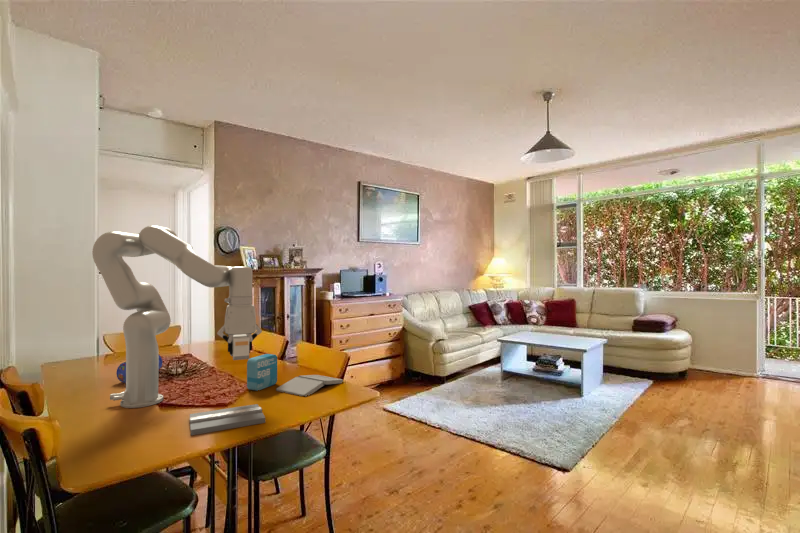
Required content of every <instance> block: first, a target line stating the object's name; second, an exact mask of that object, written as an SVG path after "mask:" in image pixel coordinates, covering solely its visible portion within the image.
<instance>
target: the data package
mask: <svg viewBox="0 0 800 533" xmlns="http://www.w3.org/2000/svg"><path fill="white" fill-rule="evenodd" d="M277 382H278V356H277V355H276V354H272V353H264V354H261V355H257V356H254V357H249V359H247V362H246V388H247V389H248V390H250V391H257V392H259V391H260V390H263V389H266V388H269V387H272V386H274V385H276V384H277ZM258 390H259V391H258Z"/></svg>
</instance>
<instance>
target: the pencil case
mask: <svg viewBox="0 0 800 533" xmlns="http://www.w3.org/2000/svg"><path fill="white" fill-rule="evenodd" d="M162 367H163V358H162V356H161V355H160V354H159V370H160V369H161V368H162ZM115 375H116V378H117V379H118V380H119V381H120V382H121V383H124V384H126V361H124V362H122V363H120V364H119V365H118V367H117V368H116V374H115Z"/></svg>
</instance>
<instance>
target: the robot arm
mask: <svg viewBox="0 0 800 533" xmlns="http://www.w3.org/2000/svg"><path fill="white" fill-rule="evenodd" d="M153 254H156V255H158V256H159V257H161V258H163V259H164V260H165V261H168V262H170V263H172V264H173V265H175V266H176V267H177V269H179V271H181V272H182V273H183V274H184V275H185V276H187V277H189V278H190V279H191V280H194V281H195V282H197V283H199V284H201V285H203V286H205V287H207V288H222V287H228V290H229V291H228V297H227V298H224V303H227V304H228V305H226V310H225V314H224V324H223V325H222V326H221V327H220V328H219V330H218V331H217V332H216V334H217V336H219V337H220V338H222V340H224V341H226V342H227V353H229V354H230V356H231V355H232V354H233V343H232V338H233V335H240V334H246V335H247V336H248V337H249V354H251V351H252V347H253V341H254V340H255V339H256V338H257V337H258V336H259V335H260V334H262V333H263V330H262V329H261V328H260V327H259V325H258V324H257V317H256V315H257V314H256V307H255V305H254V304H253V269H252V267H249V266H228V265H227V266H226V265H218V264H215V265H214V264H212V263H211V262H208V261H207V260H206V259H204V258H202V257H200V256H199V255H198V254H197V253H196V252H194V249H193V246H192V245H191V244H190V243H188V242H186V241H184V240H183V239H181V238H179V237H178V235H177V233H176V232H175V231H174V230H173V229H171V228H169V227H165V226H160V225H155V224H154V225H147V226H145V227H143V228H142V229H141V230H140V231H139V232H138V233H132V232H131V233H130V232H123V231H116V230H115V231H114V230H113V231H108V232H105V233H102V234H101V235H100V236H98V237H97V238H96V240H95V242H94V244H93V247H92V259H93V262H94V264H95V266H96V268H97V270H98V271H99V273H100V275H101V276H102V279H103V281H104V283H105V285H106V288H107V290H108V291H109V293H110V295H111V297H112V299H113V301H114V304H115V305H116V306H117V307H118V308H119V309H120V310H124V311H133V310H136V311H135V312H134V313H131V314H129V316H128V317H126V319H125V320H124V322H123V324H122V325H123V327H122V328H123V330H122V331H123V336H124V342H125V362H126V383H125V390H124V391H121V392H119V393H118V392H117V393H115V392H114V393H111V394H109V400H110V401H114V402H115V401H119V400H121V401H120V403H119V406H120V407H122V408H124V409H137V408H145V407H150V406H152V405H156V404H159V403H160V402H163V400H164V395H163V394H161V393H159V371H160V369H159V355H160V354H159V352H160V351H159V350H160V349H159V344H158V341H157V338H156V337H157V336H158V335H160V334H162V333H165V332H166V331H168V329H169V328H170V326H171V322H172V321H171V320H172V319H171V314H170V313H169V311H168V309H167V306H166V304H165V303H164V300H163V299H162V296H161V295H160V292H159V291H158V290H157V288H155V286H154V285H152V284H151V283H148V282H144V281H138V280H137V278H136V277H135V275H134V272H133V271H132V269H131V267H130V266H129V265H128V263H127V262H126V261H125V260H124V258H126V257H127V258H128V257H129V258H138V257H145V256H149V255H153ZM123 257H124V258H123ZM224 333H225V334H224ZM227 335H228V336H227Z"/></svg>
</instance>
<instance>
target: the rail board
mask: <svg viewBox="0 0 800 533" xmlns="http://www.w3.org/2000/svg"><path fill="white" fill-rule="evenodd" d="M265 423H266V416H265V415H264V412H263V408H262V407H261V406H259V404H258V403H255V404H247V405H241V406H235V407H227V408H221V409H213V410H208V411H203V412H202V411H201V412H195V413H189V429H190V436H196V435H201V434H207V433H213V432H218V431H224V430H230V429H236V428H241V427H243V428H244V427H248V426H253V425H254V426H255V425H258V424H265Z"/></svg>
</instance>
